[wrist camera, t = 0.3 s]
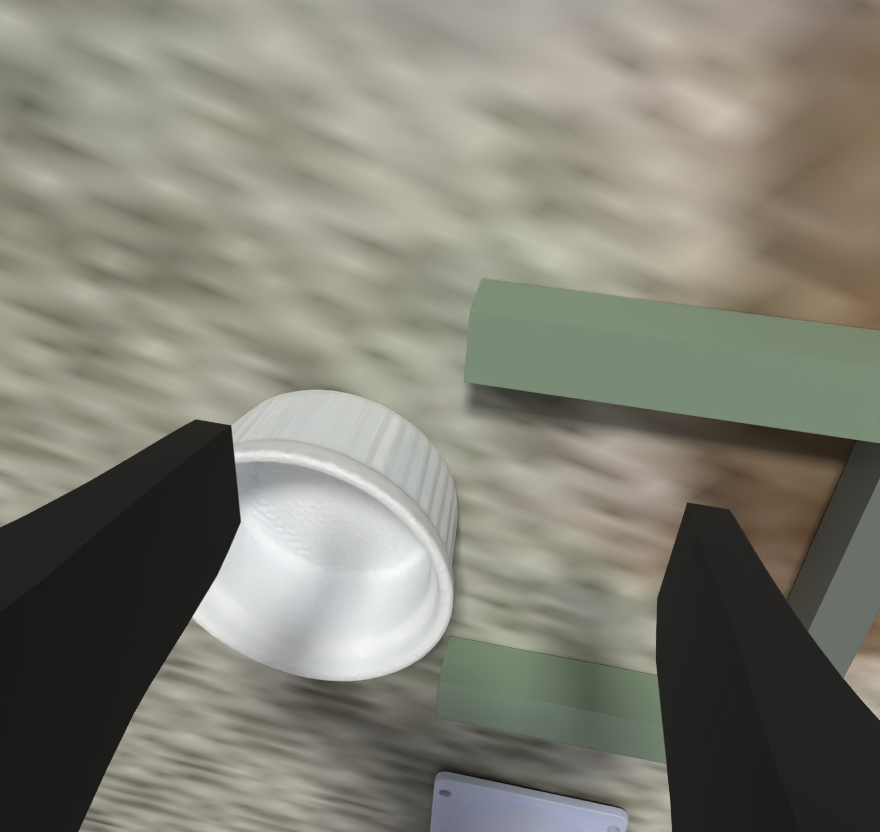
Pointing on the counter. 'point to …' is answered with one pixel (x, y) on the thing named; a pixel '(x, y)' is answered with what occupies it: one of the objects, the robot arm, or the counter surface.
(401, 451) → the ramekin
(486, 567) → the counter surface
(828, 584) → the chute bay
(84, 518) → the robot arm
